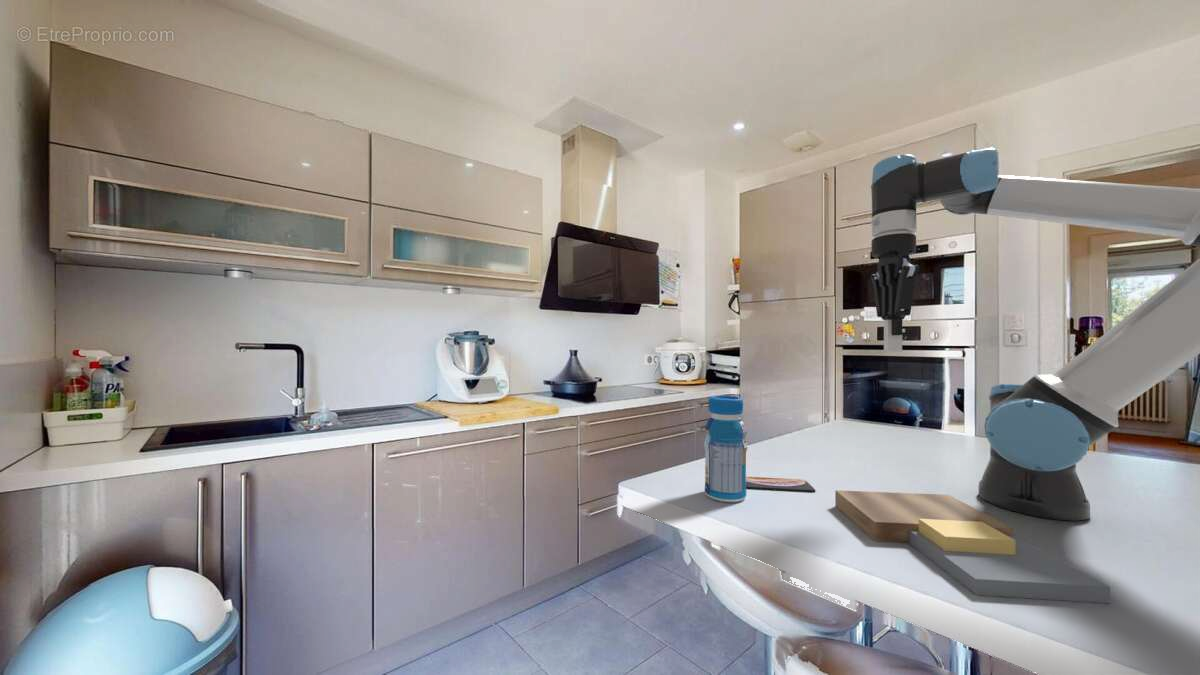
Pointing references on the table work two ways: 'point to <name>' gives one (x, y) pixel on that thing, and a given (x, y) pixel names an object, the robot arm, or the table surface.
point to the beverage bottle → (725, 450)
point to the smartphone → (778, 484)
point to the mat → (1015, 573)
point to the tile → (966, 536)
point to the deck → (906, 512)
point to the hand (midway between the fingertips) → (892, 351)
